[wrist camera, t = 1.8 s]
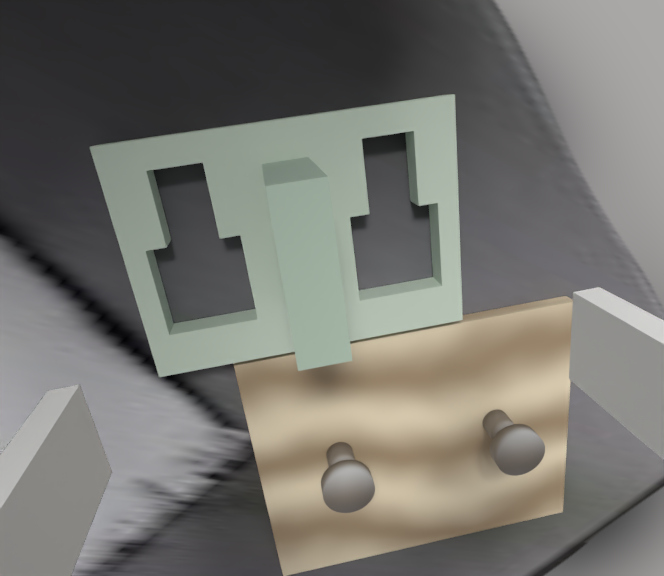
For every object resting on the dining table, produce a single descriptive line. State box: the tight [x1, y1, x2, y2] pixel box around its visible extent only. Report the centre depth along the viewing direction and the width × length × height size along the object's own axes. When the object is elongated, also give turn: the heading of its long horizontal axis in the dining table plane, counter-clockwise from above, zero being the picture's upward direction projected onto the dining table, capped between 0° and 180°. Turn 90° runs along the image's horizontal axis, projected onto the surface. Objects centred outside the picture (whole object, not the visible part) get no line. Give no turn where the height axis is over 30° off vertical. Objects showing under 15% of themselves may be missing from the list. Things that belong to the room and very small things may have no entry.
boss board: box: [234, 296, 573, 576], centre depth 33 cm, size 18×22×5 cm
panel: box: [90, 94, 463, 377], centre depth 24 cm, size 13×18×9 cm
